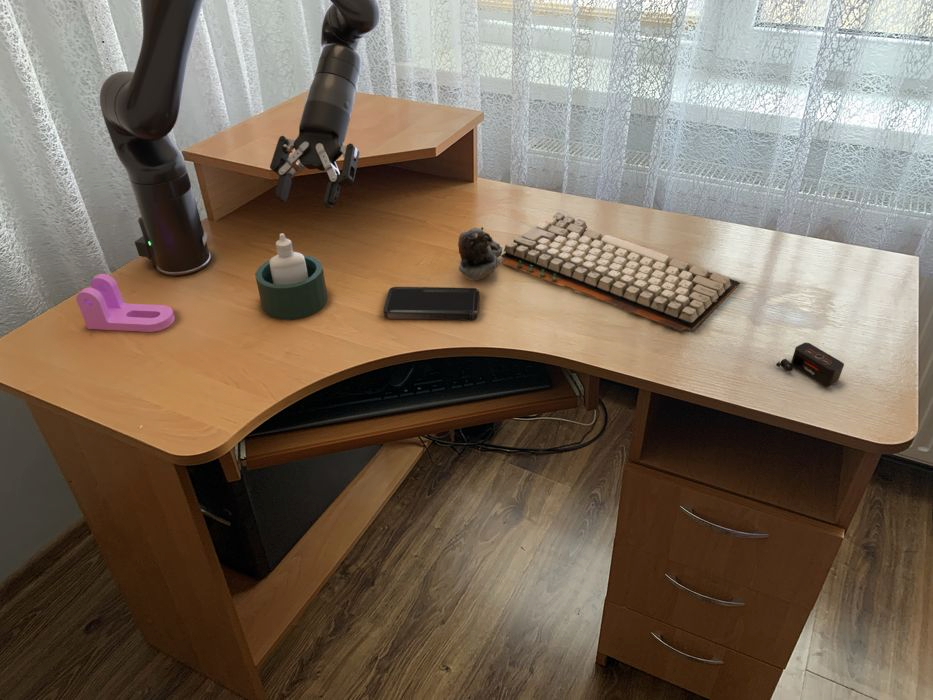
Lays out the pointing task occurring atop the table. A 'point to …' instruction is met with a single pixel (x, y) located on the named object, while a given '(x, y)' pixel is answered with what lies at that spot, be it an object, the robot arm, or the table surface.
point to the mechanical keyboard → (619, 272)
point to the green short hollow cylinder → (292, 292)
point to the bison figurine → (477, 253)
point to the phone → (432, 303)
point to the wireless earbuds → (814, 364)
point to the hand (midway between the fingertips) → (304, 203)
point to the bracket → (119, 309)
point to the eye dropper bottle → (287, 264)
